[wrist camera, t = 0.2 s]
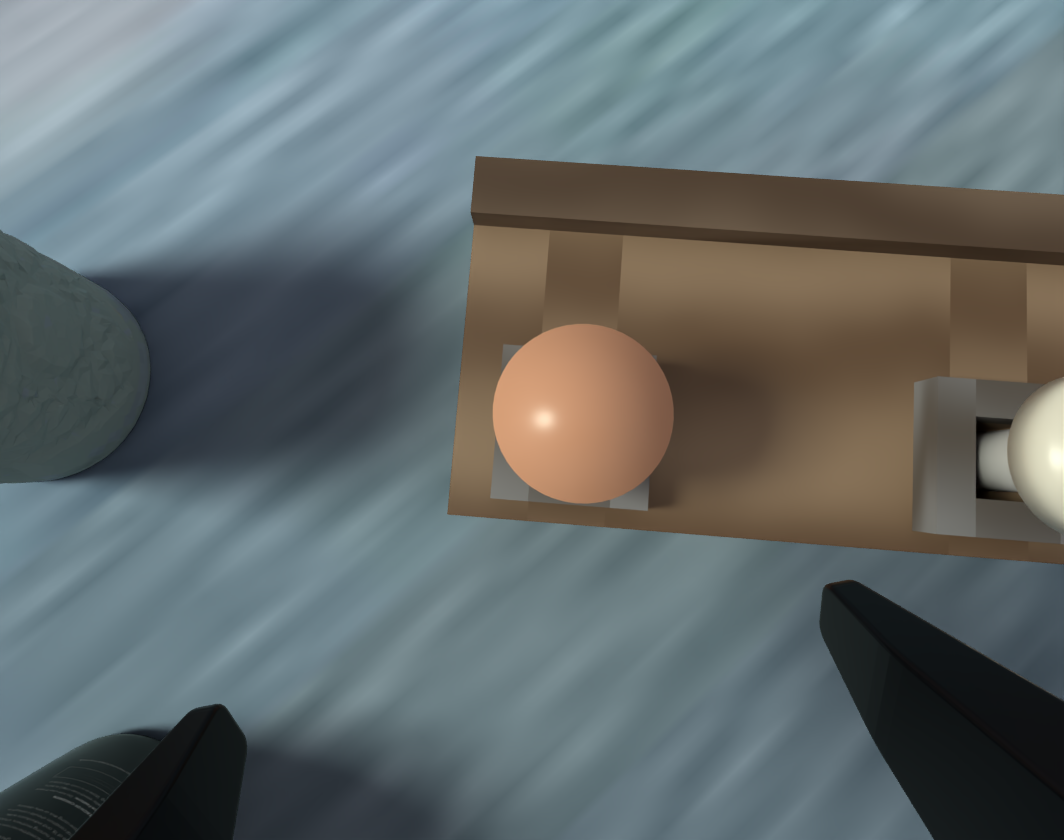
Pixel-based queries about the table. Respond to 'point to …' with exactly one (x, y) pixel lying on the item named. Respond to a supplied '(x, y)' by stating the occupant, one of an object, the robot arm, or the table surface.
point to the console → (777, 347)
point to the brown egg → (583, 413)
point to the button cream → (1029, 455)
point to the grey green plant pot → (63, 368)
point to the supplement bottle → (70, 788)
